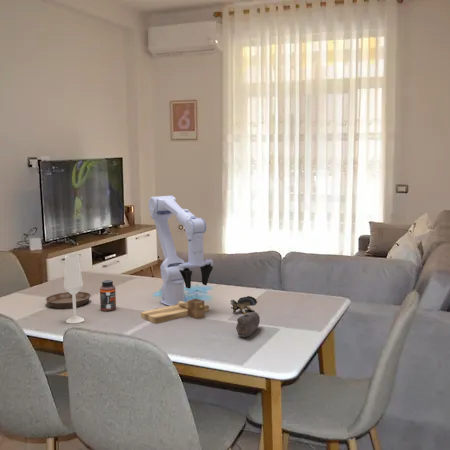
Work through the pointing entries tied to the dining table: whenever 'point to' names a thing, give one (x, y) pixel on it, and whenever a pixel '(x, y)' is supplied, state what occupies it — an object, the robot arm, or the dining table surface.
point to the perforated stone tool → (247, 324)
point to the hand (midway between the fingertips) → (196, 286)
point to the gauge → (194, 308)
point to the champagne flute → (73, 282)
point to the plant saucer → (67, 299)
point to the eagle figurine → (243, 304)
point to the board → (167, 313)
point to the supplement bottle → (107, 296)
